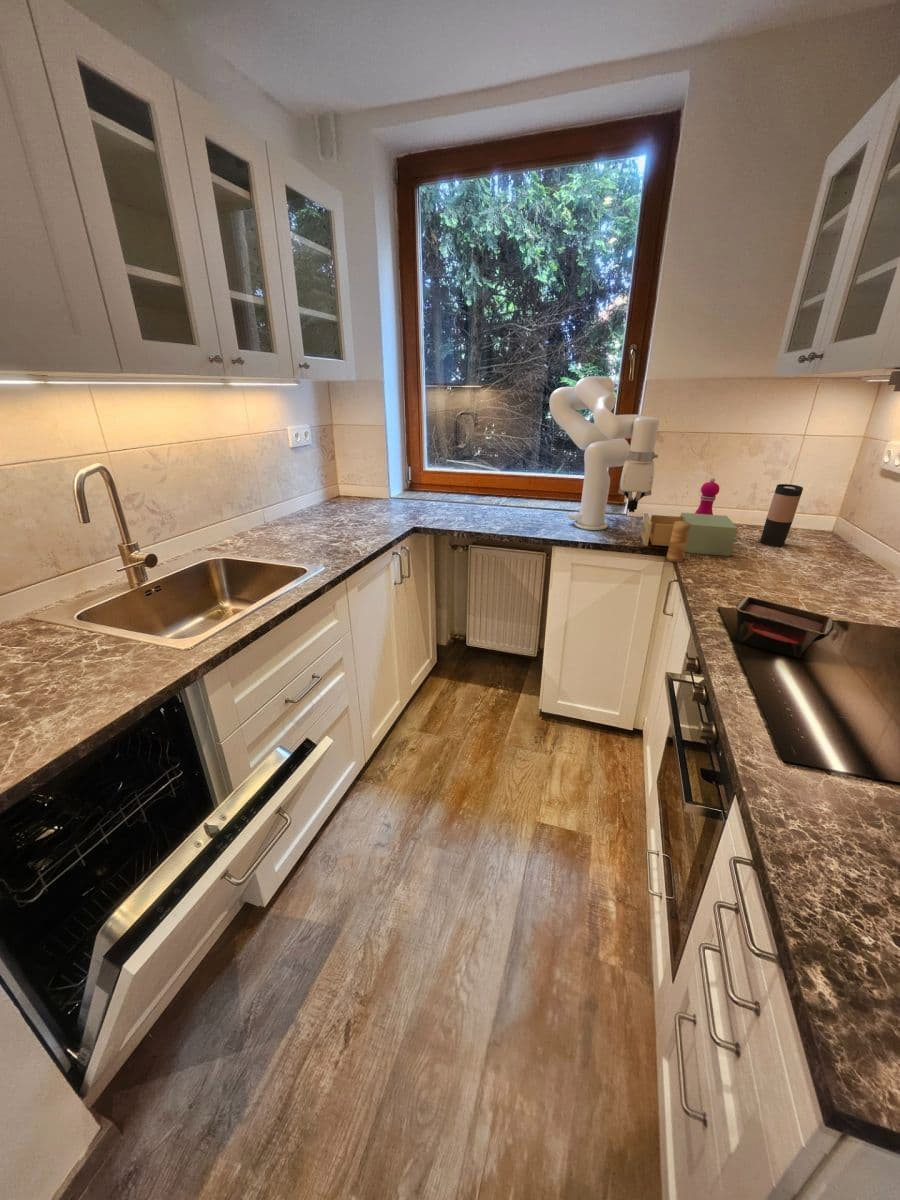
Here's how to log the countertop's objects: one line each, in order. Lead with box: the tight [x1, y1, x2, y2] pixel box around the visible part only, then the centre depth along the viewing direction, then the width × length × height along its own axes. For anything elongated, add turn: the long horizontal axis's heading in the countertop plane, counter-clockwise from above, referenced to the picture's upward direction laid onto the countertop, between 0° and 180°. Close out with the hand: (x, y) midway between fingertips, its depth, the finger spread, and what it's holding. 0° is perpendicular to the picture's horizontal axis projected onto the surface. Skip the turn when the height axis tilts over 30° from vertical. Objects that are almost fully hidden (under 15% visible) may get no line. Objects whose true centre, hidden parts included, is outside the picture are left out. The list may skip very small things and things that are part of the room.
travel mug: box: [760, 483, 804, 547], centre depth 162 cm, size 8×8×20 cm
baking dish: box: [736, 596, 835, 659], centre depth 104 cm, size 14×18×10 cm
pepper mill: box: [693, 477, 721, 515], centre depth 174 cm, size 7×7×20 cm
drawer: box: [630, 512, 685, 547], centre depth 164 cm, size 18×13×8 cm
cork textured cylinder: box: [666, 521, 691, 563], centre depth 149 cm, size 5×5×12 cm
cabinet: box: [679, 512, 738, 557], centre depth 160 cm, size 15×15×10 cm
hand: (631, 511), depth 163 cm, fingers closed
